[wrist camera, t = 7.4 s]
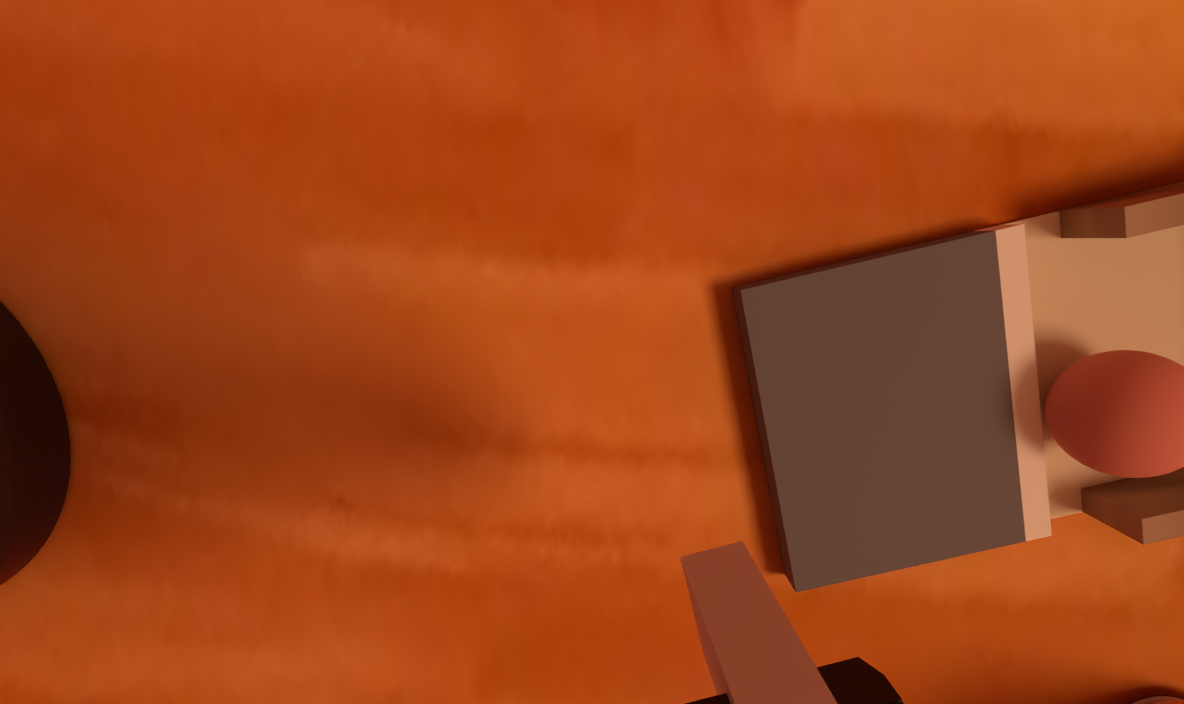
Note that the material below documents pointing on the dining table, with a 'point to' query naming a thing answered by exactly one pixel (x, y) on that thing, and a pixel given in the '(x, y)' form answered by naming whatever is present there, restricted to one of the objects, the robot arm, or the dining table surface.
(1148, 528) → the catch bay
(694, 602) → the robot arm
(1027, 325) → the lane mat
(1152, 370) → the ball
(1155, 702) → the beer can
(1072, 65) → the dining table surface
